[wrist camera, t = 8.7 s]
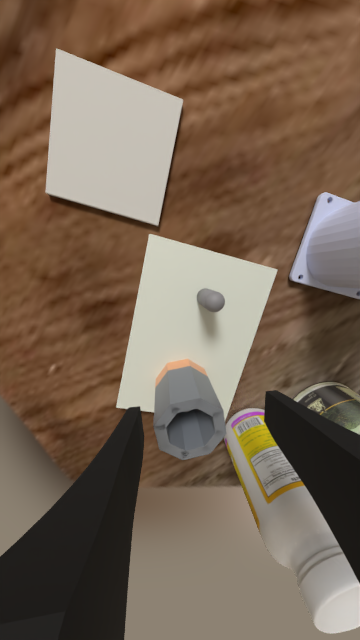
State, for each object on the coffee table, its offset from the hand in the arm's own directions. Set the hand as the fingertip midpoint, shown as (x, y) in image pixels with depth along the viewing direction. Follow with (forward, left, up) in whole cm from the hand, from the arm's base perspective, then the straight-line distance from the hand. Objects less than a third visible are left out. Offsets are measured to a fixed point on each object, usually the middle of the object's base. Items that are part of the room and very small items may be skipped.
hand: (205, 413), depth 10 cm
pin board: (0, -1, -9) cm, 9 cm away
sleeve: (0, +3, -8) cm, 9 cm away
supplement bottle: (-10, +9, -10) cm, 17 cm away
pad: (+10, -15, -9) cm, 20 cm away
